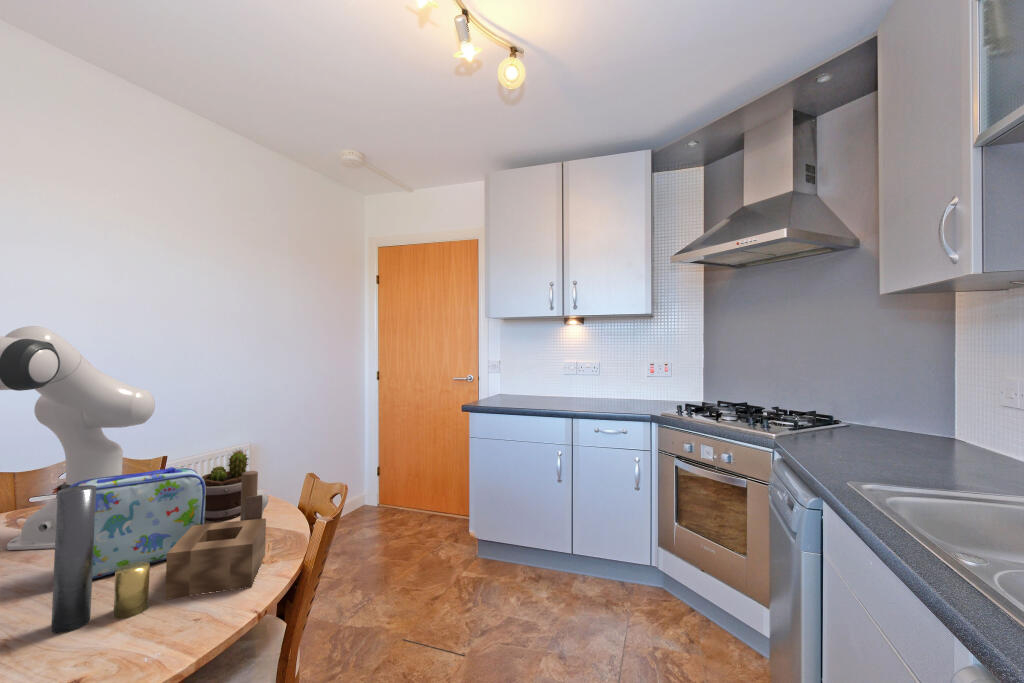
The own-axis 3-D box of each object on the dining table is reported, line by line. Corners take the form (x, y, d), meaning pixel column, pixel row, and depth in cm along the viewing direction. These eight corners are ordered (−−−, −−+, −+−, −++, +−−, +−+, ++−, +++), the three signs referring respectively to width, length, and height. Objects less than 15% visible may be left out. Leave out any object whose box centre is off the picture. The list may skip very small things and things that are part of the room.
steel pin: (43, 635, 77) (50, 494, 77) (61, 619, 81) (68, 486, 82) (80, 630, 78) (86, 492, 79) (96, 614, 83) (101, 484, 84)
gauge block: (165, 599, 88) (166, 553, 88) (191, 565, 102) (192, 525, 103) (251, 587, 93) (252, 543, 93) (264, 556, 107) (266, 518, 108)
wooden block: (244, 557, 107) (246, 481, 107) (238, 541, 115) (240, 471, 116) (261, 553, 109) (263, 479, 109) (254, 538, 117) (256, 469, 118)
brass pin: (107, 620, 81) (109, 576, 81) (121, 605, 86) (123, 563, 86) (141, 615, 83) (143, 572, 83) (152, 601, 87) (154, 560, 88)
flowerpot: (190, 528, 123) (192, 455, 124) (197, 511, 136) (199, 445, 137) (251, 519, 130) (253, 450, 131) (252, 503, 144) (254, 441, 144)
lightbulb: (249, 525, 126) (250, 486, 126) (271, 525, 126) (272, 486, 126) (237, 534, 120) (238, 493, 120) (261, 534, 120) (262, 492, 120)
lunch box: (197, 539, 116) (199, 458, 117) (208, 551, 109) (210, 465, 110) (54, 574, 97) (58, 477, 98) (56, 592, 90) (60, 488, 91)
